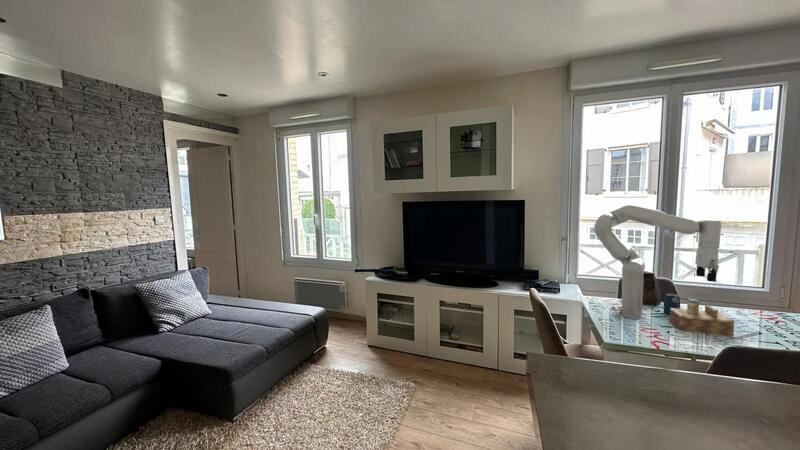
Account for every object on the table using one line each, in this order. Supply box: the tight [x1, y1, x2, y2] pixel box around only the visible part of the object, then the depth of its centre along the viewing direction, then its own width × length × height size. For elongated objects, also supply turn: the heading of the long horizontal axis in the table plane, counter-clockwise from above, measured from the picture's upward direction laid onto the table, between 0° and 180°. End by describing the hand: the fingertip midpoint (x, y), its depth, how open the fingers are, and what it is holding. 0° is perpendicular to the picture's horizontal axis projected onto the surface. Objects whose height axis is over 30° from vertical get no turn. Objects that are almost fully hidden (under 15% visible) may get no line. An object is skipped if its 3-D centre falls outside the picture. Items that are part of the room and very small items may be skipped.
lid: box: [670, 305, 735, 324], centre depth 158 cm, size 20×12×4 cm, turn 68°
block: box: [686, 298, 700, 320], centre depth 159 cm, size 4×4×14 cm
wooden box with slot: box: [669, 310, 735, 337], centre depth 158 cm, size 20×12×7 cm, turn 68°
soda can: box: [663, 292, 681, 316], centre depth 177 cm, size 7×7×12 cm
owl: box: [643, 270, 662, 307], centre depth 199 cm, size 13×13×20 cm
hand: (705, 278), depth 158 cm, fingers open, 9 cm apart
